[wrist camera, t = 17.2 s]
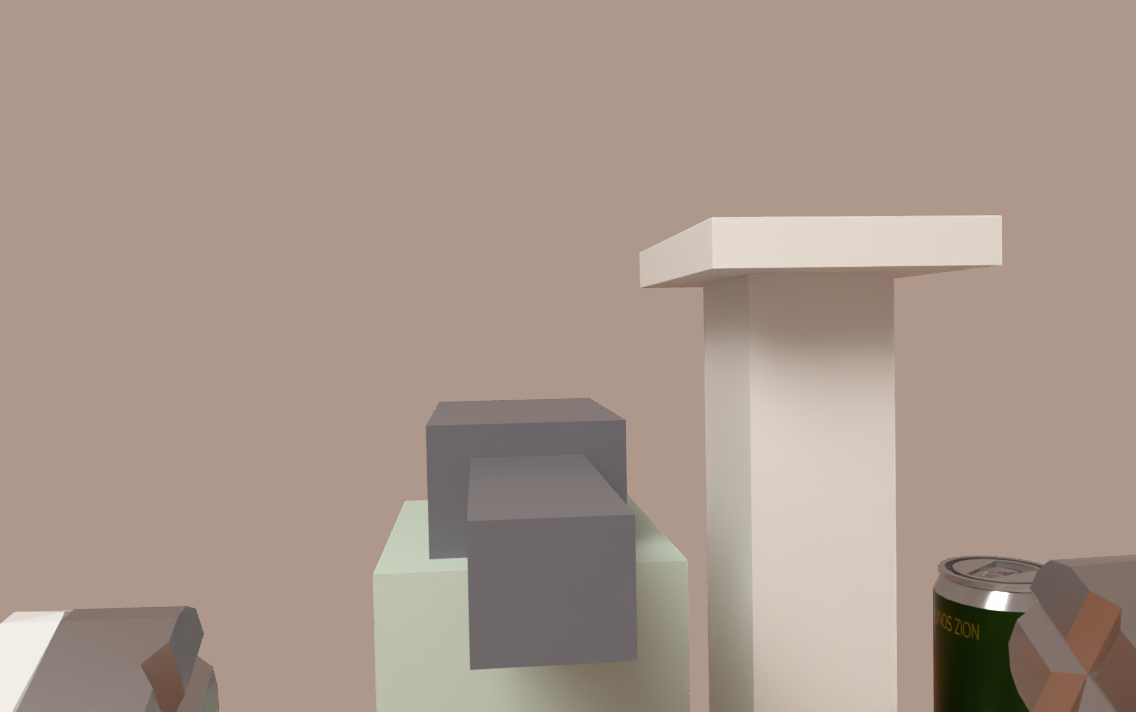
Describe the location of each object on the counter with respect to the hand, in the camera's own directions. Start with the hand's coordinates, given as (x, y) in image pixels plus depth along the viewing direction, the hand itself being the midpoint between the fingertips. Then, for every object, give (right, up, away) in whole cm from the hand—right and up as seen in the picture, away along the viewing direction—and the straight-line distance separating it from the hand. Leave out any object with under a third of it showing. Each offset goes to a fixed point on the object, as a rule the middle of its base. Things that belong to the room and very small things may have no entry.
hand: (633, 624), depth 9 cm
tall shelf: (+8, -19, +25) cm, 32 cm away
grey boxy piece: (-2, -3, +19) cm, 20 cm away
